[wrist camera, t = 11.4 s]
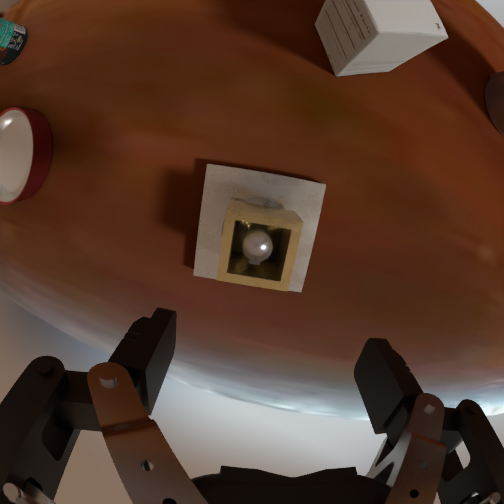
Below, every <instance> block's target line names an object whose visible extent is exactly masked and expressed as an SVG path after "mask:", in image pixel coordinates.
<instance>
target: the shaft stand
mask: <svg viewBox="0 0 504 504" xmlns="http://www.w3.org/2000/svg"><path fill="white" fill-rule="evenodd" d="M325 187H326V185H325V184H322V183H318V182H313V181H308V180H304V179H299V178H294V177H288V176H283V175H278V174H272V173H267V172H261V171H255V170H249V169H243V168H236V167H230V166H223V165H215V164H207V169H206V176H205V183H204V190H203V197H202V204H201V212H200V220H199V228H198V237H197V246H196V255H195V265H194V276H200V277H206V278H212V279H216V277H217V270H218V263H219V256H220V249H221V242H222V235H223V228H224V221H225V215H226V208H227V207H228V205H229V204H230V202H231V200H235V201H242V202H248V203H253V204H259V205H265V206H270V207H276V208H281V209H287V210H292V211H295V212H296V213H297V214H298V215H299V217H300V218H301V219H302V220H303V222H304V223H303V227H302V232H301V236H300V241H299V245H298V249H297V254H296V258H295V262H294V266H293V271H292V275H291V279H290V283H289V287H288V291H295V292H301V291H302V287H303V283H304V279H305V275H306V271H307V267H308V263H309V259H310V255H311V251H312V247H313V242H314V238H315V234H316V229H317V225H318V220H319V216H320V211H321V207H322V202H323V197H324V192H325ZM282 232H283V228H280V227H274V226H269V225H263V224H257V223H251V222H245V221H239V220H237V222H236V229H235V235H234V241H233V247H232V254H235V255H241V256H246V257H247V258H248V259H249V262H248V263H250V264H256V265H260V262H261V261H263V260H271V261H277V256H278V251H279V246H280V242H281V237H282Z"/></svg>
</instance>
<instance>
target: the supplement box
mask: <svg viewBox="0 0 504 504" xmlns="http://www.w3.org/2000/svg"><path fill="white" fill-rule="evenodd" d="M315 27H316V29H317V32H318V34H319V36H320V38H321V41H322V43H323V45H324V48H325V50H326V53H327V55H328V58H329V61H330V63H331V66H332V68H333V71H334V73H335V76H345V75H354V74H363V73H374V72H389V71H390V70H392V69H394V68H395V67H397V66H399V65H400V64H402V63H404V62H405V61H407V60H409V59H411V58H412V57H414V56H416V55H418V54H419V53H421V52H423V51H425V50H426V49H428V48H430V47H432V46H434V45H436V44H438V43H439V42H441V41H443V40H445V39H447V38H448V35H447V33H446V31H445V28H444V26H443V24H442V22H441V20H440V18H439V16H438V14H437V12H436V10H435V9H434V7H433V5H432V3H431V2H430V0H325V2H324V5H323V7H322V9H321V11H320V13H319V16H318V18H317V20H316V22H315Z"/></svg>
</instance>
